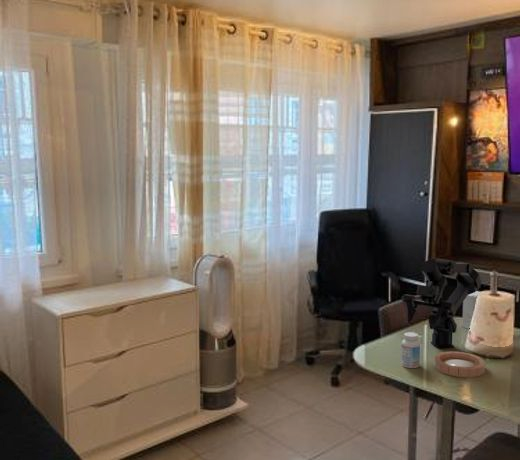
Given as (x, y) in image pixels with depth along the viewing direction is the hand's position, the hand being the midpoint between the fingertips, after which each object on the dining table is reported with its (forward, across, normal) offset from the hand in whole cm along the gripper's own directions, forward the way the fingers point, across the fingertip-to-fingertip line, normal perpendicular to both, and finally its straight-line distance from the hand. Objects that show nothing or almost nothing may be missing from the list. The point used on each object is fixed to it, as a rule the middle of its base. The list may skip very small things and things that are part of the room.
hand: (420, 324), depth 189 cm
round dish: (+8, +14, +10) cm, 19 cm away
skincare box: (-24, +1, +43) cm, 49 cm away
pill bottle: (+14, 0, +4) cm, 15 cm away
